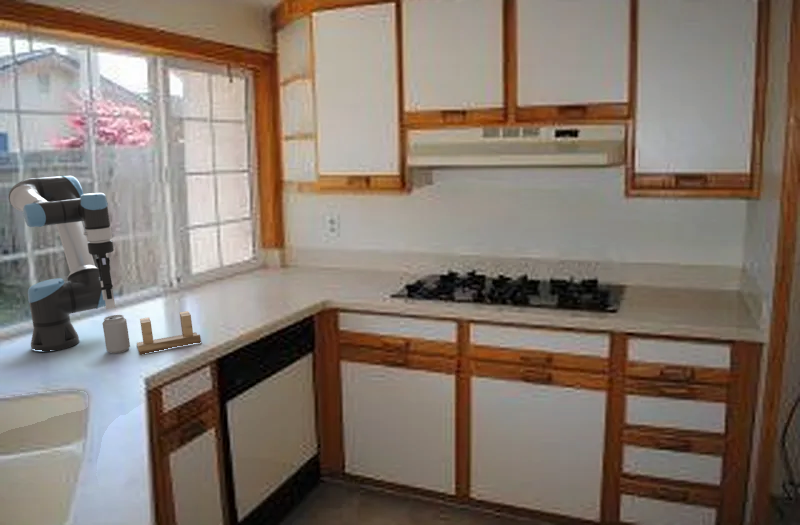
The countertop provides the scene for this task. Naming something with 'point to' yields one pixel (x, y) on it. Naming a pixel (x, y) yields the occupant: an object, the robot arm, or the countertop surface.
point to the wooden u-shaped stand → (167, 342)
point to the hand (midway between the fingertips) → (109, 303)
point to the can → (116, 334)
